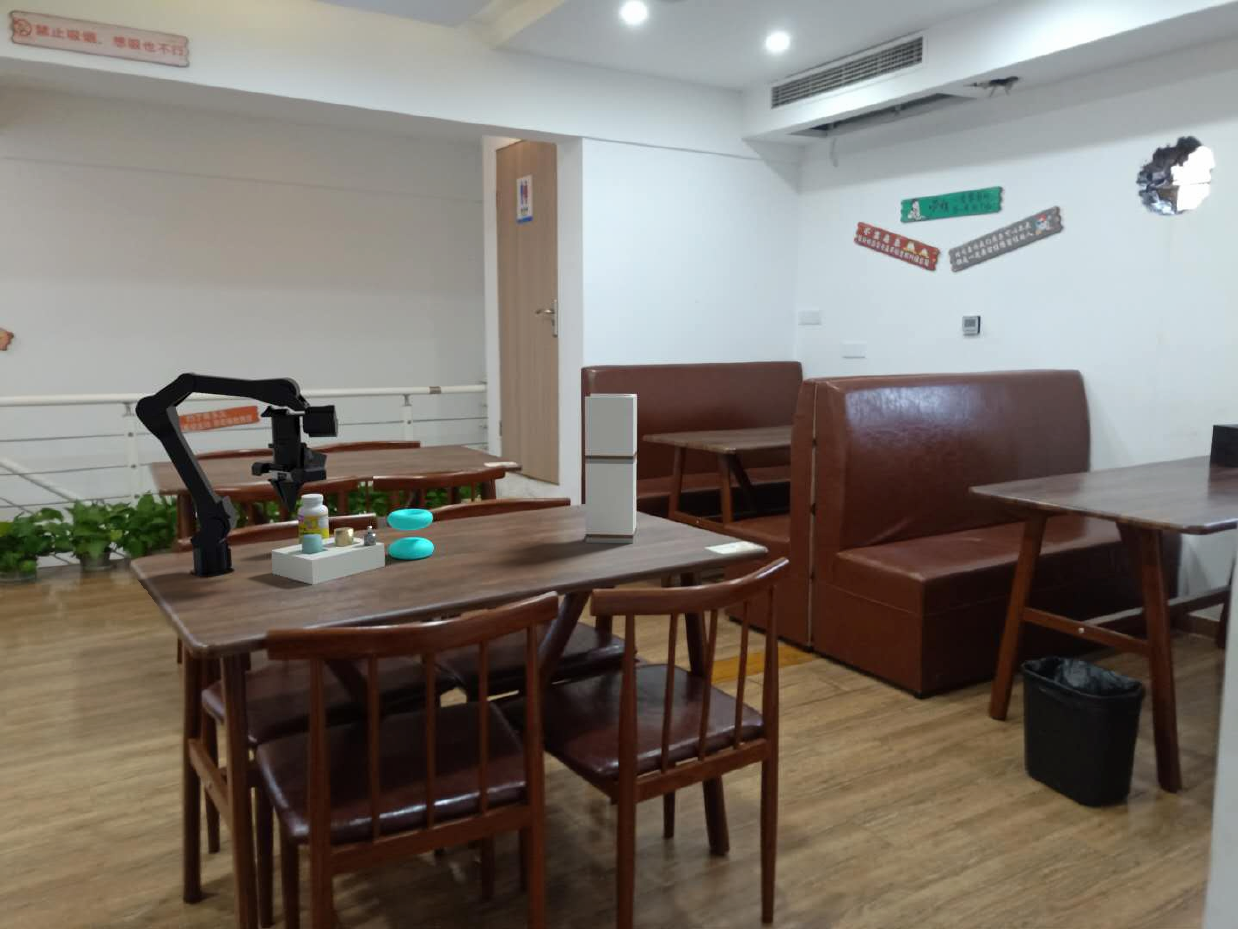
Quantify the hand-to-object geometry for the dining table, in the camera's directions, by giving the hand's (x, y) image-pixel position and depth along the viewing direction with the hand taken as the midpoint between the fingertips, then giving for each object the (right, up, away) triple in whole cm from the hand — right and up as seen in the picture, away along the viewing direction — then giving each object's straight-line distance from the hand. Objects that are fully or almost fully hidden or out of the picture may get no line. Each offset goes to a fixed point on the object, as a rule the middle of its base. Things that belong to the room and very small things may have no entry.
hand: (290, 511), depth 193 cm
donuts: (+22, -11, +14) cm, 29 cm away
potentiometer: (+16, -7, +2) cm, 18 cm away
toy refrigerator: (+68, -8, +31) cm, 75 cm away
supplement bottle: (-1, -10, +19) cm, 21 cm away
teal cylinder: (+6, -12, -2) cm, 13 cm away
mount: (+8, -13, +1) cm, 15 cm away
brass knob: (+10, -11, +4) cm, 16 cm away
